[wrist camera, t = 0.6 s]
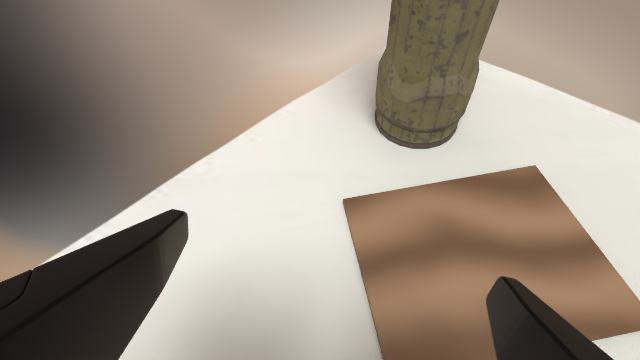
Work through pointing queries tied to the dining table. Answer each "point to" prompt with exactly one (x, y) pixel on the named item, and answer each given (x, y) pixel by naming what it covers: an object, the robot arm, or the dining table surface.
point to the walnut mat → (478, 263)
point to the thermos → (429, 68)
